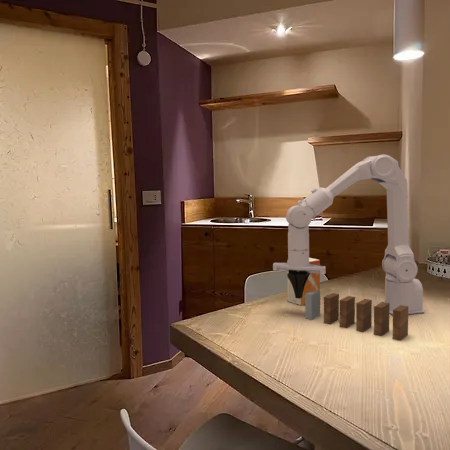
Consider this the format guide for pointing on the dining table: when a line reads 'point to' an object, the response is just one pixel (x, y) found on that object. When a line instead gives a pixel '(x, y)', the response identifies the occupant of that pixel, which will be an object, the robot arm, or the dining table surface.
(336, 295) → the domino
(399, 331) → the domino
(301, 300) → the small box
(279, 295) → the dining table surface
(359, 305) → the domino
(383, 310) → the domino
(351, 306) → the domino
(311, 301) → the gray rectangular block
